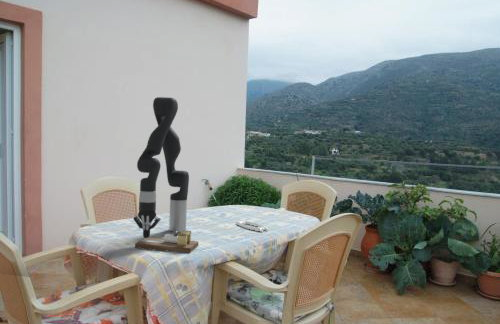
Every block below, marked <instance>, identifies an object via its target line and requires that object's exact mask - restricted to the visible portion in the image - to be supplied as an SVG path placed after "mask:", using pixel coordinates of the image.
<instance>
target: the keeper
mask: <svg viewBox="0 0 500 324" xmlns="http://www.w3.org/2000/svg"><path fill="white" fill-rule="evenodd" d="M191 241H192V230H185V231H184V230H183V231H181V232H178V239H177V246H187V243H191Z"/></svg>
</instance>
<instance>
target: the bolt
mask: <svg viewBox="0 0 500 324" xmlns="http://www.w3.org/2000/svg"><path fill="white" fill-rule="evenodd" d="M178 233H179V232H178V231H174V232H173V233H172V234H170V233H166V234H164V236H163V237H164V242H170V243H177V239H178Z"/></svg>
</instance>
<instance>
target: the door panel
mask: <svg viewBox="0 0 500 324" xmlns="http://www.w3.org/2000/svg"><path fill="white" fill-rule="evenodd" d="M197 247H199V240H198V241H197V240H196V241H195V240H191V243H187V246H177V243H170V242H164V238H161V237H150V236H149V237H148V238H144V237H143V238H142V239H140V240H138V241H137V242H136V243H134V249H142V248H144V250H153V249H155V251H164V250H168V251H167V252H175V251H178V253H189V254H191V253H192V252H193V251H194V250H195V249H197Z"/></svg>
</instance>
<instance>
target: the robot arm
mask: <svg viewBox="0 0 500 324" xmlns="http://www.w3.org/2000/svg"><path fill="white" fill-rule="evenodd" d="M152 102H153V104H152V109H153V113H154V117H155V120H156V123H157V127H155V129H154V130H153V131H152V132H151V133H150V134H149V137H148V140H147V143H146V147H145V148H144V150H143V151H142V153H141V155H140V156H139V158H138V159H137V163H136V166H137V167H136V168H137V170H138V171H139V172H141V173H144V174H148V176H147V177H144V178H141V179H140V185H139V196H138V213H137V215H136V216H134V217H133V220H134V223H135V224H136V225H137V227H139V229H142V236H143V239H144V238H148V237H150V236H151V230H152V229H154V228H155V227H156V226H157V225H158V223H159V222H160V221H161V220H162V219H161V218H160V217H158V216H157V213H156V210H157V206H156V205H157V180H158V177H159V174H160V171H161V162H160V160H159V158H157V157H156V158H155V156H159V155H161V153H162V151H163V156H164V160H165V166H166V177H167V183H168V185H169V186H170V187H173V188H179V191H177V192H174V193H171V194H170V197H169V219H168V220H169V221H168V222H169V223H168V230H169V232H173V233H174V231H178V233H180V232H181V231H183V230H184V231H187V213H188V211H187V209H188V208H187V207H188V195H189V184H190V183H189V182H190V176H189V172H188V171H186V170H176V166H175V163H176V161H177V159H178V157H179V156H180V153H181V149H182V147H181V141H180V137H179V135H178V134H177V132H176V131H175V130H174V129H173V128H172V124H173V121H174V120H175V117H176V115H177V113H178V109H179V106H178V105H179V103H178V100H177V99H176V98H174V97H164V96H161V97H159V96H157V97H155V98H154V99H153V101H152ZM153 221H154V222H153ZM152 222H153V223H152Z"/></svg>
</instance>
